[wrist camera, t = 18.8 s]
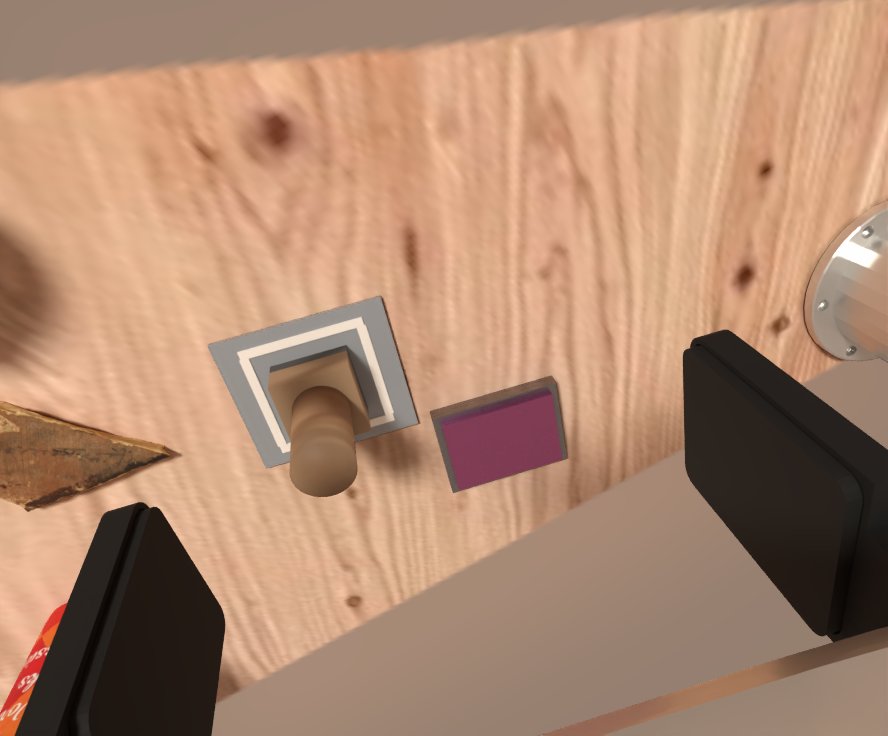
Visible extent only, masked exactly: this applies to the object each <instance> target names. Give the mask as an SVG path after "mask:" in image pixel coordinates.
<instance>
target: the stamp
mask: <svg viewBox="0 0 888 736" xmlns="http://www.w3.org/2000/svg"><path fill="white" fill-rule="evenodd" d="M268 391H269V393H270V395H271V398H272V400H273V402H274V404H275V407H276V409H277V411H278V413H279V416H280V418H281V420H282V423H283V425H284V427H285V429H286V432H287V434H288V436H289V438H290V441H291V445H290V478H291V481H292V482H293V484H294V485H295V487H296V488H297V489H299V490H300V491H301V492H303V493H305V494H308V495H311V496H315V497H328V496H333V495H336V494H339V493H341V492H343V491H344V490H346V489H347V488H348V487H349V486H350V485H351V484H352V483H353V482H354V480H355V478H356V475H357V460H356V451H355V442H354V436H355V435H358V434H361V433H365V432H368V431H371V425H370V419H369V412H368V407H367V404H366V401H365V398H364V395H363V392H362V389H361V387H360V384H359V381H358V378H357V375H356V372H355V369H354V366H353V363H352V361H351V358H350V355H349V352H348V349H347V346H346V345H344V346H341V347H337V348H334V349H330V350H327V351H323V352H320V353H316V354H313V355H309V356H306V357H302V358H299V359H295V360H292V361H289V362H285V363H282V364H278V365H275V366H271V367H270V373H269V383H268Z"/></svg>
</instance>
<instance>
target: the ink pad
mask: <svg viewBox="0 0 888 736" xmlns="http://www.w3.org/2000/svg"><path fill="white" fill-rule="evenodd" d="M430 414H431V418H432V421H433V425H434V428H435V432H436V435H437V439H438V442H439V446H440V449H441V453H442V457H443V460H444V464H445V467H446V471H447V474H448V478H449V481H450V485H451V488H452V491H453V493H455V492H458V491H461V490H465V489H468V488H471V487H475V486H478V485H481V484H485V483H488V482H491V481H494V480H498V479H501V478H504V477H508V476H511V475H514V474H518V473H521V472H524V471H528V470H531V469H534V468H537V467H541V466H544V465H547V464H551V463H554V462H557V461H561V460H564V459H567V454H566V447H565V441H564V434H563V427H562V421H561V414H560V407H559V401H558V394H557V387H556V382H555V381H554V379H553V378H552V376H549V377H545V378H542V379H538V380H535V381H532V382H528V383H525V384H521V385H518V386H515V387H511V388H508V389H504V390H501V391H498V392H494V393H491V394H488V395H484V396H481V397H477V398H474V399H471V400H467V401H464V402H460V403H457V404H454V405H450V406H447V407H443V408H440V409H437V410H433V411H430Z"/></svg>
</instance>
